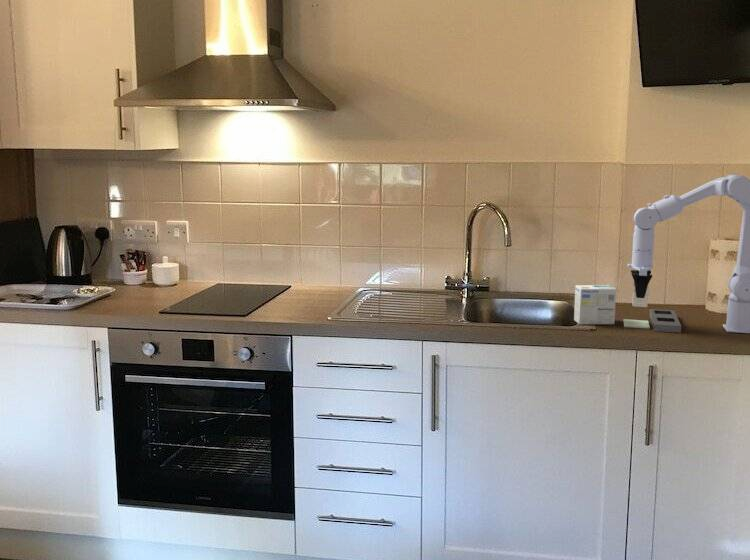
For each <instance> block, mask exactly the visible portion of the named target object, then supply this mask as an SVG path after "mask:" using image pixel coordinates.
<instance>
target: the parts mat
mask: <svg viewBox="0 0 750 560" xmlns="http://www.w3.org/2000/svg"><path fill="white" fill-rule="evenodd" d="M622 321H623V327H624V328H635V329H637V328H638V329H650V328H651V326H650V322H649V320H644V319H643V320H642V319H641V320H639V319H626V318H625V319H624V318H623V320H622Z"/></svg>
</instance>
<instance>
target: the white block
mask: <svg viewBox="0 0 750 560" xmlns="http://www.w3.org/2000/svg"><path fill="white" fill-rule="evenodd" d="M649 289H650V288H649V285H648V287H647V290H646V294H645V297H644V298H637V297H636V291H635V283H634V282H633V284H632V299H631V305H632V307H637V308H639V307H640V308H647V307H648V304H649V301H648V300H649Z"/></svg>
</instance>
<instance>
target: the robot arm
mask: <svg viewBox="0 0 750 560" xmlns="http://www.w3.org/2000/svg"><path fill="white" fill-rule="evenodd" d="M712 196H720V197H726V196H727V197H729V198H731V199H733V200H734V201H735V202H736V203H737V204H738V205H739V206H740V207H741V208H742V217H741V218H742V219H741V226H740V233H739V241H738V247H737V255H736V256H737V258H736V262H735V266H734V267H733V272H732V275H731V277H730V278H729V280H728V283H727V285H728V289H729V291H730V292H731V293H730V294H729V296H728V298H727V309H726V319H725V321H726V323H724V324H722V327H723V328H724V330H725V332H727V333H740V334H741V333H742V334H750V179H749V178H748V177H747V176H745V175H743V174H742V175H741V174H736V173H730V174H728V175H725V176H724V177H723V176H721V177H719V178H715V179H713V180H711V181H708V182H706V183H704V184H701V186H698V187H696V188H694V189H692V190H690V191H688V192H686V193H684V194H682V195H679V196H677V195H675V194H671V195H668V194H666V195H663V198H662V199H660V200H657V201H655V202H653V203H651V202H649V203H647V207H640V208H638V209H637V210H636V212H635V213H634V215H633V216H632V220H633V222H634V224H635V225H634V227H633V229H634V230H633V236H632V237H633V239H632V255H631V263H627V264H626V265H627V268H632V269H631V270H630V273H631V276H632V279H633V283H635V291H636V297H637V298H644V297H645V294H646V290H647V287H648V286H649V283H650V282H651V280H652V278H653V274H651V273H652V269H653V268H654V261H653V260H654V248H655V226H656V225H657V223H662V222H664V221H666V220H667V221H668V219H670V218H673V217H675V216H677V215H680V214H682V212H683V210H684V208H685V207H687V206H690V205H691V204H694V203H697V202H699V201H701V200H705V199H707V198H708V197H712Z"/></svg>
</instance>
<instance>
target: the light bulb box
mask: <svg viewBox="0 0 750 560" xmlns="http://www.w3.org/2000/svg"><path fill="white" fill-rule="evenodd" d="M616 298H617V288H616V287H613V286H612V285H610V284H591V285H589V284H586V285H585V284H584V285H582V284H580V285H578V284H576V285H574V309H573V311H574V313H573V320H574V322H576V323H577V324H578V325H615V319H616V318H615V317H616V303H617V299H616Z"/></svg>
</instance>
